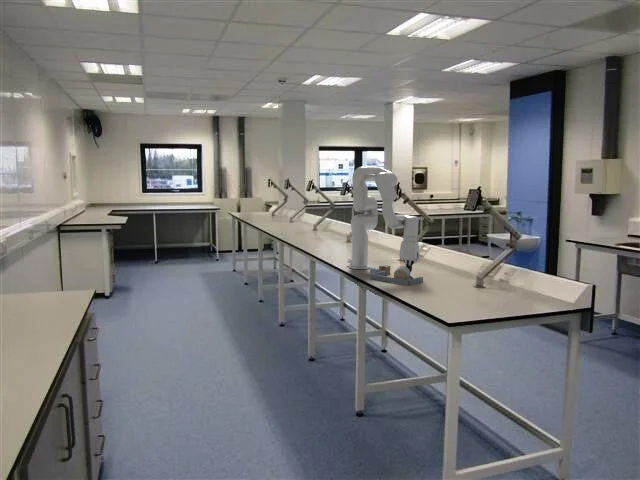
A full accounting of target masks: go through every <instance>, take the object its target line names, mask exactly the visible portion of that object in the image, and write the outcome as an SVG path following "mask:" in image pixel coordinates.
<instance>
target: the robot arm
mask: <svg viewBox="0 0 640 480" xmlns="http://www.w3.org/2000/svg"><path fill="white" fill-rule="evenodd" d="M351 178H352V179H351V180H352V181H351V182H352V188H353V189H352V193H353V194H352V201H353V202H352V205H353V209H354V211H355V212H357V213H360V214H356V215H354V216H353V217H351V219H350V228H351V229H350V230H351V259H350V258H349V259H348V260H347V261H346V262H347V264H349V265H348V267H349V268H350V269H352V270H353V269H354V270H367V269H369V270H370V269H371V265H369V263H368V261H369V235H368V233H367V231H369V230H371V231H372V230H374V229H375V228H376V227H377V225H378V221H379V220H378V219H379V218H378V217H379V216H378V215H379V214H378V213H379V212H378V211H379V210H378V209H379V208H378V207H379V206H378V201H377V199H376V198H375V197H374V196H372V195H369V193H368V192H369V189H368V185H367V183H366V182H375V186H376V188H377V190H378V193H379V195H380V197H381V199H382V207H381V214H382V216H383V220H384V222H385V223H386V226H387V227H389V229H393V230H394V229H395V230H396V229H403V235H402V236H401V238H402V239H403V240H402V241H401V243H400V247H399V248H400V249H399V258H400V261H403V263H404V266H405V267H407V268H408V269H409V270H410V273H412V271H413V265H414V264H417V263H419V259H420V246H419V241H418V238H419V237H418V235H419V221H420V220H419V217H418V216H415V215H409V214H408V215H407V214H395V211H394V208H393V204H394V203H393V202H394V201H395V200H397V198H398V193H397V192H396V189H395V187H396V186H397V184H398V177H397V175H396V174H395V173H394V172H392V171H390V170H387V169H385V168H382V167H381V166H380V167H379V166H372V165H371V166H370V165H365V166H364V165H363V166H359V167H357V168H356V169H355V170H354V171H353V174H352V177H351ZM361 213H362V214H361Z"/></svg>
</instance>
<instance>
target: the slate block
mask: <svg viewBox="0 0 640 480" xmlns="http://www.w3.org/2000/svg"><path fill="white" fill-rule="evenodd" d="M376 272H380V269H379V267H378V268H377V267H372V268H371V267H370V268H369V275H370V274H372V273H376Z"/></svg>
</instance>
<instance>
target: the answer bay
mask: <svg viewBox="0 0 640 480" xmlns="http://www.w3.org/2000/svg"><path fill="white" fill-rule="evenodd" d="M385 275H386V276H385ZM369 277H370V280H374V279H376V280H375V281H380V280H382V282H385V281H388V282H387V283H391V282H393V283H392V284H396V283H398V284H397V285H402V284H403V286H412V285H413V286H414V285H416V284H420V283H423V282H424V277H423V276H419V277H418V276H417V277H413V278H414V279H410V280H404V279H398V278H394V276H387V274H386V271H381V272H376V273H372V274H370V273H369Z"/></svg>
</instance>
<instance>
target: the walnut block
mask: <svg viewBox="0 0 640 480" xmlns="http://www.w3.org/2000/svg"><path fill="white" fill-rule="evenodd" d="M378 268H379V269H380V272H381V271H386V275H390V274H391V265H388V264H382V265H379V266H378Z"/></svg>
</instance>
